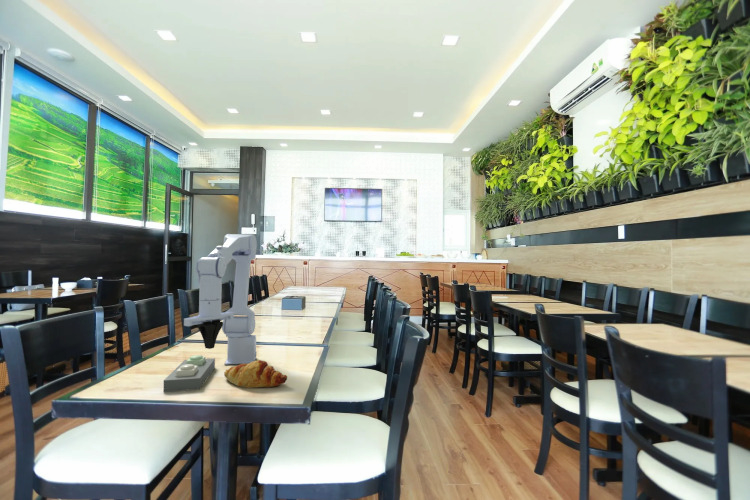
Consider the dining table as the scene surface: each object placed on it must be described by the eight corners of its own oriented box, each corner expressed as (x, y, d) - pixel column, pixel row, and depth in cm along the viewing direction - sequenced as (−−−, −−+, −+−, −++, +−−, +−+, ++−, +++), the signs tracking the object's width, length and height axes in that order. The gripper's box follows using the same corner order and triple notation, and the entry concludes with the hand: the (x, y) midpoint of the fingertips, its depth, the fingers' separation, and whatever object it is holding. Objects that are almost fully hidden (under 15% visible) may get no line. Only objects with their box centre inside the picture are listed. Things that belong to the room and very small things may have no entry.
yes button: (205, 365, 116) (205, 354, 116) (202, 370, 111) (202, 358, 112) (190, 366, 115) (190, 355, 115) (186, 370, 110) (186, 358, 111)
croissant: (217, 394, 105) (208, 373, 102) (238, 368, 114) (229, 348, 111) (281, 401, 99) (273, 380, 96) (298, 374, 108) (291, 353, 104)
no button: (197, 375, 106) (197, 363, 106) (193, 380, 102) (193, 367, 102) (180, 376, 105) (181, 364, 105) (176, 381, 101) (176, 368, 101)
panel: (214, 367, 119) (214, 358, 119) (199, 389, 99) (200, 378, 100) (184, 369, 117) (184, 359, 117) (163, 391, 97) (163, 380, 97)
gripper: (222, 296, 111) (221, 341, 111) (177, 301, 99) (176, 351, 98) (238, 297, 108) (238, 344, 108) (193, 302, 95) (192, 355, 95)
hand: (209, 348), depth 103 cm, fingers closed
